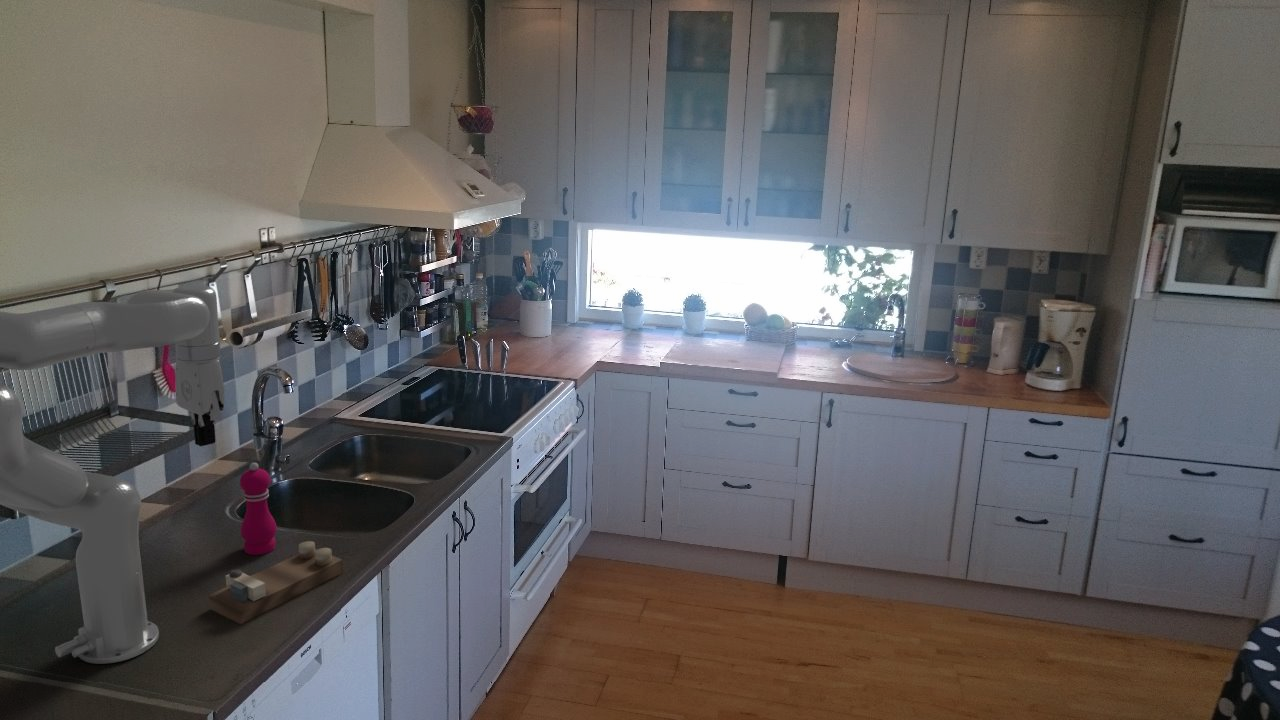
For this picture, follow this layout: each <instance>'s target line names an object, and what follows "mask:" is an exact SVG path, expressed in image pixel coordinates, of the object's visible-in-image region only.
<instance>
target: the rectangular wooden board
mask: <svg viewBox="0 0 1280 720" xmlns="http://www.w3.org/2000/svg"><path fill="white" fill-rule="evenodd" d="M332 553H333V552H332V549H331V548H330V547H322V548H318V549H317V548H316V543H315V541H310V540H309V541H308V540H307V541H303V542H300V543H299V544H298V554H296V555H293V556H292V557H289V558H286V559H284V560H283V561H281V562H278V563H275V564H274V565H272V566H269V567H267V568H264V569H263V570H261V571H259V572H256V573H254V574H252V575H250V576H251V577H253V578H255V579H257V580H260V581H262V582H264V583H265V589H266V596H264V597H261V598H259V599H257V600H255V601H253V600H251V599H248V598H247V588H246V586H244V585H242V584H240V583H237V582H235V583H233V584H231V590H230V589H228V588H227V587H226V586H225V587H223V588H221V589H219V590H216V591H215V592H213V593H211V594H208V602H209V609H210V610H211V611H213V612H215V613H218V614H220V615H221V616H223V617H225V618H227V619H229V620H231V621H233V622H236V623H237V624H239V625H243V624H244V623H247V622H248V621H250V620H252V619H254V618H256V617H259V616H261V615H262V614H264V613H266V612H269V611H270V610H272V609H275V608H277V607H278V606H280V605H281V604H284V603H286V602H287V601H290V600H292V599H294V598H295V597H298V596H300V595H301V594H304V593H306V592H308V591H310V590H312V589H314V588H316V587H317V586H319V585H321V584H323V583H326V582H327V581H330V580H332V579H333V578H336V577H338V576H339V575H341V574H343V573H344V564H343V559H342V558H340V557H337V556H335V555H333V554H332ZM293 597H294V598H293ZM291 598H292V599H291Z"/></svg>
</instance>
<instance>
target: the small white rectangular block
mask: <svg viewBox="0 0 1280 720" xmlns="http://www.w3.org/2000/svg"><path fill="white" fill-rule="evenodd" d="M251 576H252V575H248V574H246V573H245V572H243V571H242V570H241V569H237V568H236V569H233V570H230V571H229V573H228V574H227V575H225V583H226V584H225V587H227V588H228V589H230V590H231V584H233V583H235V582H237V583H240V584H242V585H244V586H246V588H247V598H248V599H251V600H253V601H255V600H257V599H259V598H261V597H264V596H266V589H265V583H264V582H262V581H260V580H257V579H255V578H253V577H251Z"/></svg>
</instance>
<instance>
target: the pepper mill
mask: <svg viewBox="0 0 1280 720" xmlns="http://www.w3.org/2000/svg"><path fill="white" fill-rule="evenodd" d="M239 485H240V489H242V490H243V494H242V495H243V499H244V500H245V503H246V512H245V514H244V517H243V520H242V522H241V526H240V536H241V538H242V539H243V540H244V543H243V547H244V548H243V549H244V552H245V554H248V555H250V556H251V555H252V556H261V555H265V554H268V553H271V552H272V551H275V549H276V538H275V536H276V534H277V531H278V527H277V523H276V521H275V518H274V517H273V515H272V514H271V512H270V509H269V507H268V506H269V505H268V498H269V496H270V494H269V493H270V492H269V491H270V490H269V489H268V488H269V487H270V486H271V477H270V474H269V473H268V471H266V470H265V469H263V468H260V467H259V464H258V463H257V462H251V463H250V465H249V469H248V470H246V471H243V473H242V474H241V476H240V479H239Z"/></svg>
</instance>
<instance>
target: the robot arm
mask: <svg viewBox="0 0 1280 720" xmlns="http://www.w3.org/2000/svg"><path fill="white" fill-rule="evenodd" d="M220 343H221V341H220V329H219V314H218V300H217V293H216V290H215V289H214V288H213V287H211V286H208V285H203V284H194V285H193V284H189V285H181V286H178V287H175V288H171V289H147V290H143V291H142V290H141V291H139V292H137V293H135V294H132V296H130V298H129V299H127V302H126V303H122V302H110V301H109V302H108V301H88V302H87V301H86V302H85V301H84V302H79V303H74V304H70V305H69V304H68V305H64V306H63V305H62V306H59V307H51V308H48V309H41V310H35V311H31V312H24V313H23V312H22V313H13V312H7V311H0V368H2V369H9V370H14V371H15V370H17V371H30V370H37V369H41V368H45V367H48V366H53V365H57V364H61V363H64V362H68V361H71V360H77V359H80V358H84V357H88V356H93V355H97V354H102V353H104V354H106V353H115V352H116V353H117V352H126V351H130V350H140V349H141V350H142V349H148V348H156V347H164V346H168V345H173V344H175V345H174V346H175V357H176V359H175V367H174V368H175V372H174V379H175V380H174V381H175V382H174V383H175V386H174V387H175V388H174V390H175V402H176V404H177V406H178V407H180V408H181V409H184V410H186V411H188V412H189V413H190V416H191V423H192V424H193V433H194V444H195V445H197V446H199V447H204V446H208V445H209V446H210V445H213V444H215V443H216V433H215V432H216V430H215V429H216V428H215V424H216V421H217V420H221V419H222V414H221V411H224V409H225V408H226V393H225V385H224V376H223V371H222V366H221V361H220V360H221V358H222V357H221V356H222V354H221V344H220ZM0 505H1V506H3V507H5V508H8V509H11V510H13V511H16V512H19V513H22V514H24V515H26V516H30V517H32V518H35V519H38V520H40V521H43V522H47V523H50V524H54V525H58V526H63V527H67V528H71V529H74V530H79V531H80V532H81V534H82V536H81V537H82V538H81V540H80V543H79V545H78V546H77V550H76V552H75V567H76V575H77V582H78V588H79V589H78V590H79V595H80V596H79V597H80V603H81V605H80V606H81V611H82V618H83V619H82V621H83V626H82V627H79V628H77V631H78V635H76V636H74V637H73V639H72V640H70V641H67V642H64V643H61V644H60V645H56V646H55V648H54V652H55V655H56V656H57V657H58V658H62V657H64V656H67V655H68V654H71V656H72V657H73V658H77V657H78V658H79V659H80V660H82V661H83V662H86V663H89V664H96V665H97V664H98V665H100V664H101V665H103V664H104V665H106V664H113V663H118V662H119V663H120V662H123V661H127V660H130V659H132V658H136V657H138V656H139V655H141V654H144V653H145V652H147V651H148V650H149V649H151V648H152V647H154V645H155V644H156V643H157V642H158V640H159V638H160V631H159V627H158V626H157V624H155V623H153V622H152V621H150V620H148V614H147V613H148V612H147V604H146V594H145V587H144V578H143V577H144V575H143V569H142V559H141V558H142V557H141V552H140V551H141V550H140V539H139V531H140V530H139V526H140V517H141V509H142V500H141V495H140V493H139V491H138V490H137V487H135V486H134V485H133V484H132V483H130V482H129V481H127V480H125V479H122V478H119V477H115V476H111V475H107V474H103V473H97V472H90V471H85V470H84V469H83V467H82V466H81V465H80V464H78V463H77V462H76V461H75V460H73V459H72V458H70V457H68V456H66V455H63V454H61V453H58V452H56V451H53V450H51V449H49V448H47V447H44V446H42V445H40V444H38V443H36V442H35V441H32V440H31V439H29V438H27V437H26V436H25V435H24V433H23V408H22V403H21V401H20V399H19V397H18V395H17V394H16V393H15V392H14V390H13V389H11V388H10V387H9V386H7V385H6V384H3V383H1V382H0Z"/></svg>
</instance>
